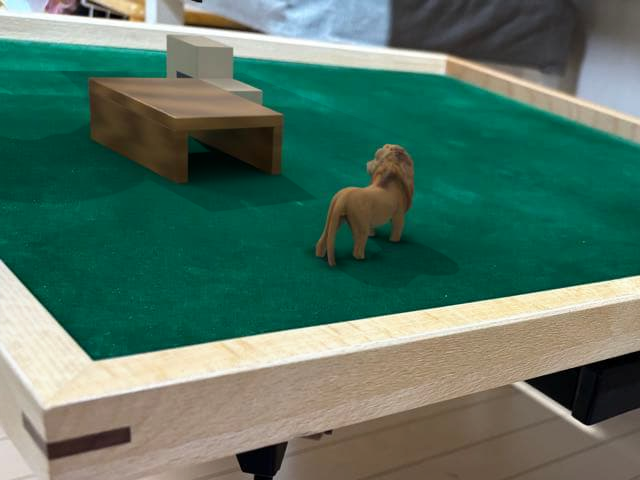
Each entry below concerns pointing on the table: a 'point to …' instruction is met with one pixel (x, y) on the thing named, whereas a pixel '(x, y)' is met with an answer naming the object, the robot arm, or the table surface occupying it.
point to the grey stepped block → (206, 64)
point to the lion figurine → (372, 202)
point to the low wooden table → (181, 123)
